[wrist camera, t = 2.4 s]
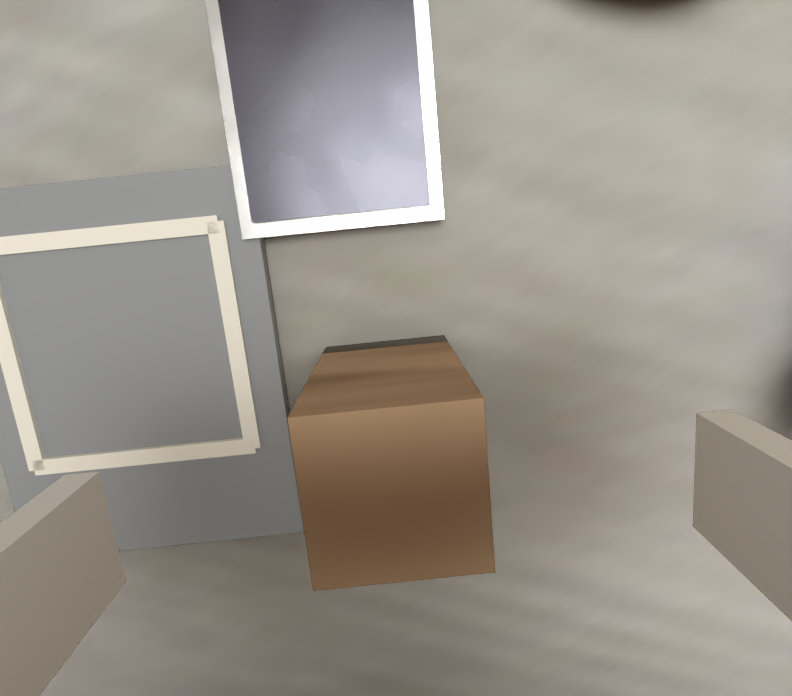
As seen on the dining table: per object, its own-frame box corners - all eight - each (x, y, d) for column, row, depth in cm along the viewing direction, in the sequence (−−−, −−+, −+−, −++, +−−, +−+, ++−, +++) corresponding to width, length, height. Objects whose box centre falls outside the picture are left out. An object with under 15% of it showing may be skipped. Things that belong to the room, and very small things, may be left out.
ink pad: (441, 220, 19) (445, 218, 17) (250, 239, 19) (239, 239, 17) (419, -62, 17) (422, -89, 15) (206, -41, 17) (190, -66, 15)
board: (306, 524, 21) (302, 535, 20) (38, 551, 21) (24, 563, 20) (252, 166, 18) (246, 162, 17) (-58, 197, 18) (-78, 195, 17)
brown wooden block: (452, 445, 20) (495, 572, 13) (340, 456, 20) (313, 591, 13) (443, 335, 20) (483, 398, 12) (326, 347, 19) (287, 417, 12)
